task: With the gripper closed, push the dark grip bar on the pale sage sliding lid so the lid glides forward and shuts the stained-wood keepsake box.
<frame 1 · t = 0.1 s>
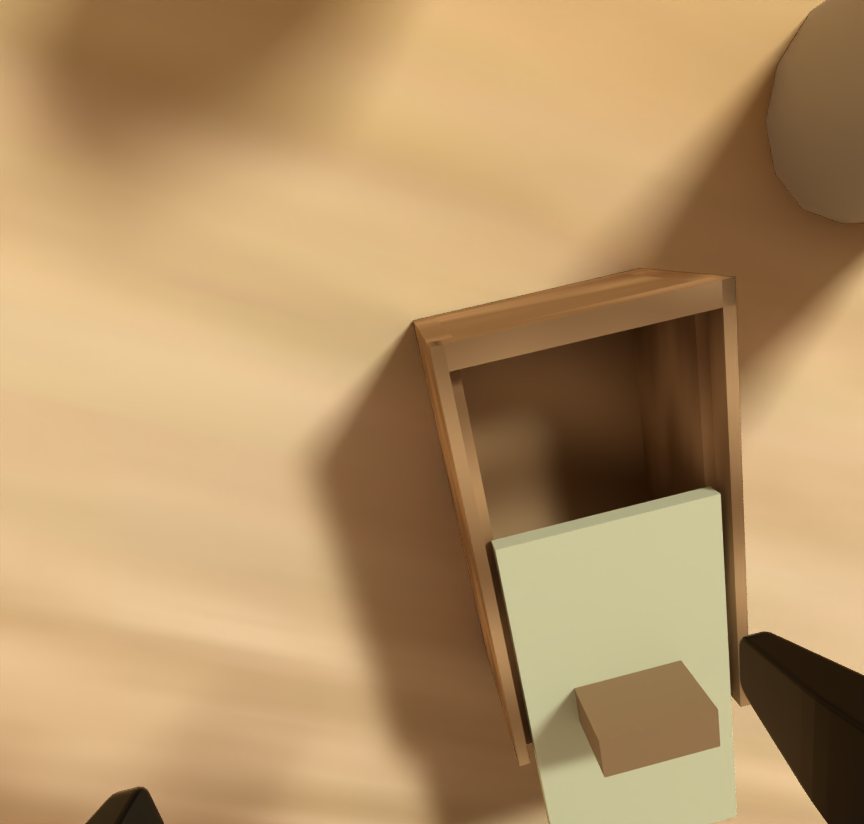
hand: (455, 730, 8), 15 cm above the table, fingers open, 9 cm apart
keepsake box: (555, 480, 23), on the table
lid: (641, 717, 19), point 6 cm above the table, slide at 6.0 cm
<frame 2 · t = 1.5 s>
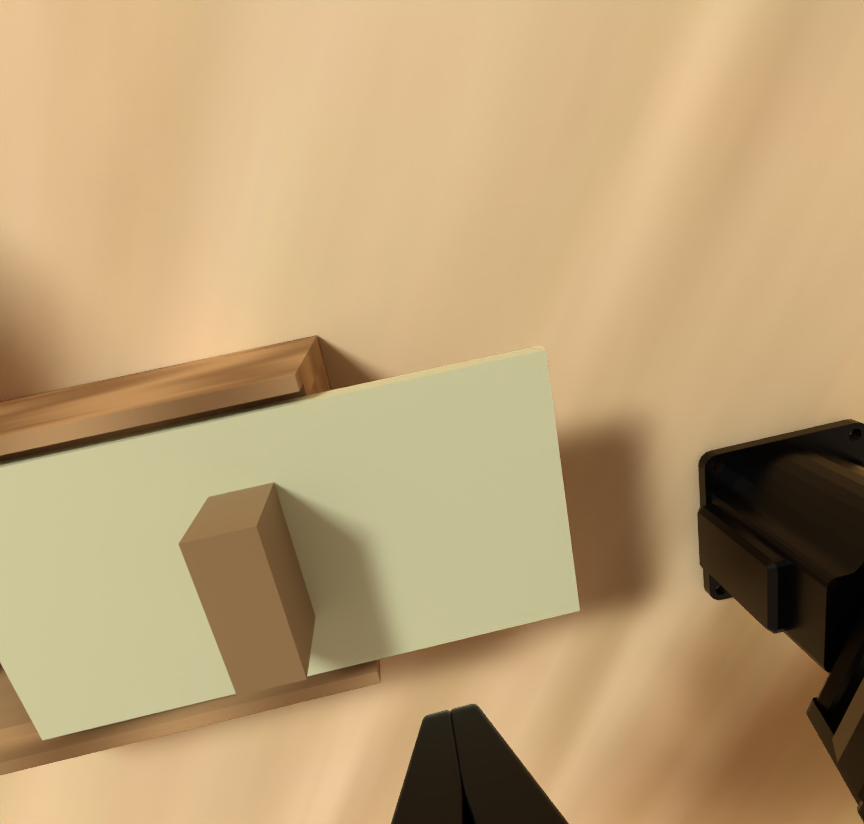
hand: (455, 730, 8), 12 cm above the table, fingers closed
keepsake box: (122, 509, 19), on the table
lid: (274, 574, 13), point 6 cm above the table, slide at 6.0 cm
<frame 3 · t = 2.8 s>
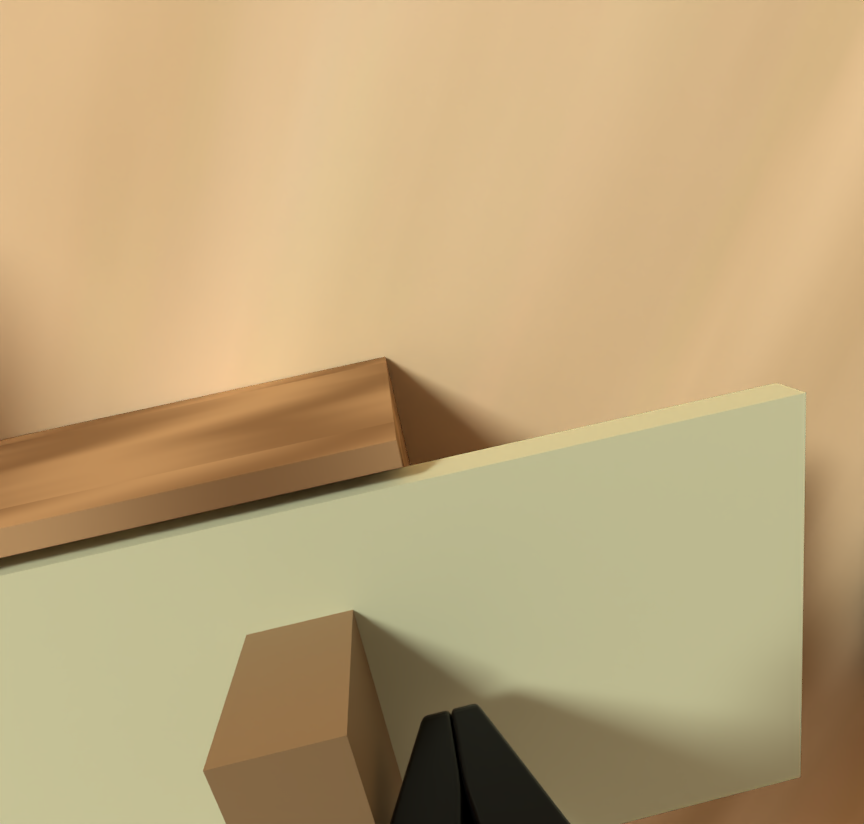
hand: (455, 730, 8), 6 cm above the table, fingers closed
keepsake box: (114, 595, 14), on the table
lid: (356, 763, 8), point 7 cm above the table, slide at 6.0 cm, touching gripper
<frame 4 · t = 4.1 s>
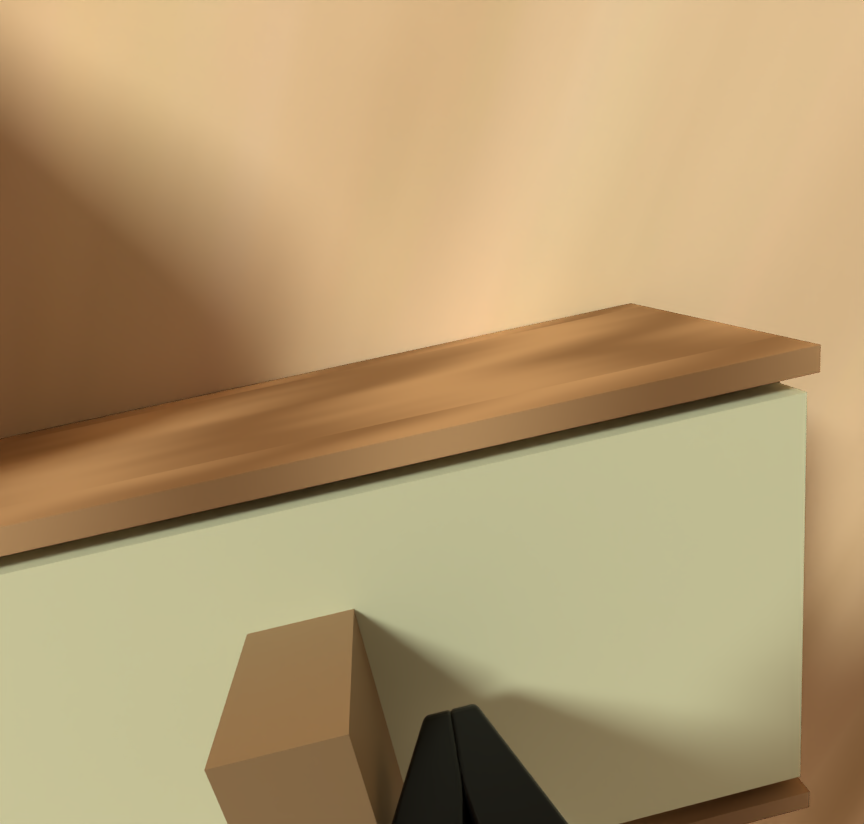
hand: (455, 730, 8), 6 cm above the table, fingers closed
keepsake box: (347, 540, 14), on the table
lid: (357, 763, 8), point 6 cm above the table, slide at 0.0 cm, touching gripper
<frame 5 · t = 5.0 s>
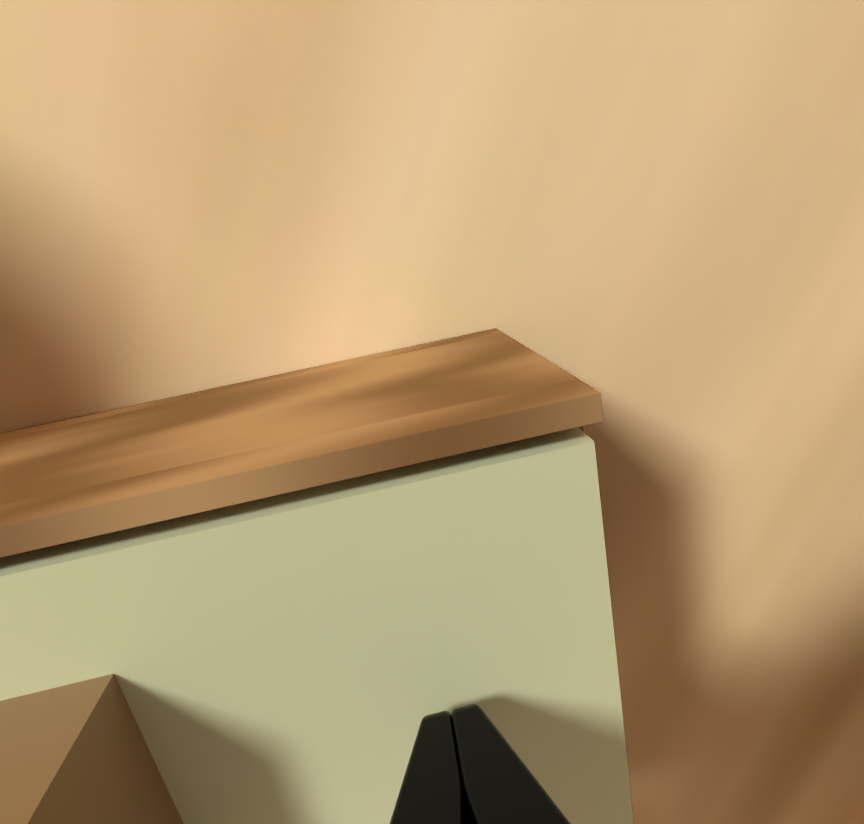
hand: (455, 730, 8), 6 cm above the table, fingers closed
keepsake box: (209, 573, 14), on the table
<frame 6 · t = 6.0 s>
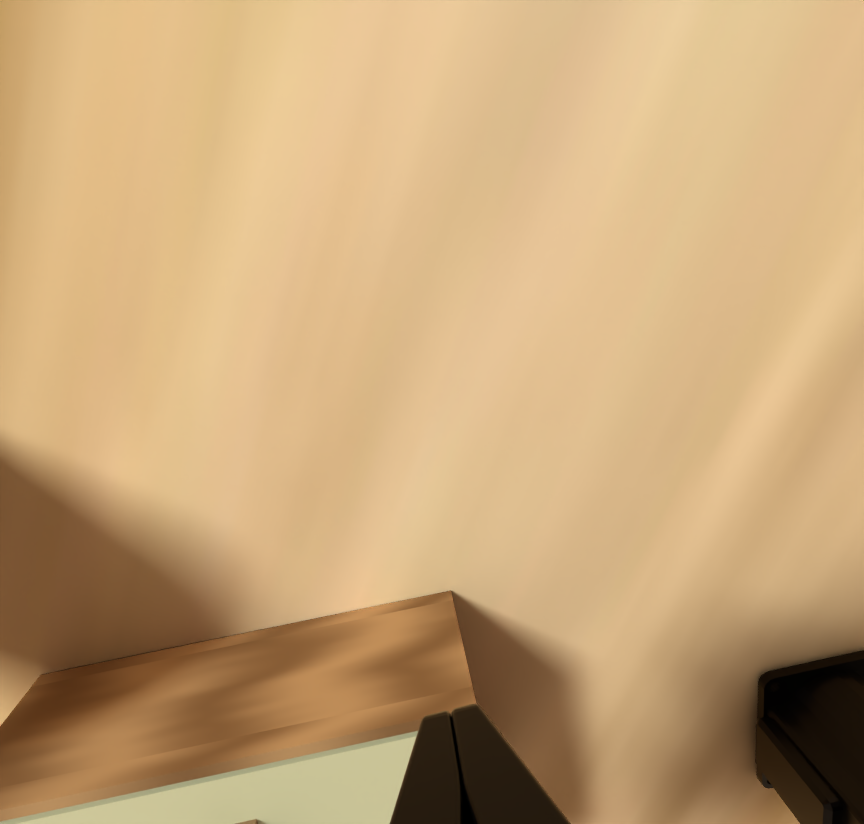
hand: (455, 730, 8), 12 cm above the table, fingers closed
keepsake box: (277, 721, 23), on the table
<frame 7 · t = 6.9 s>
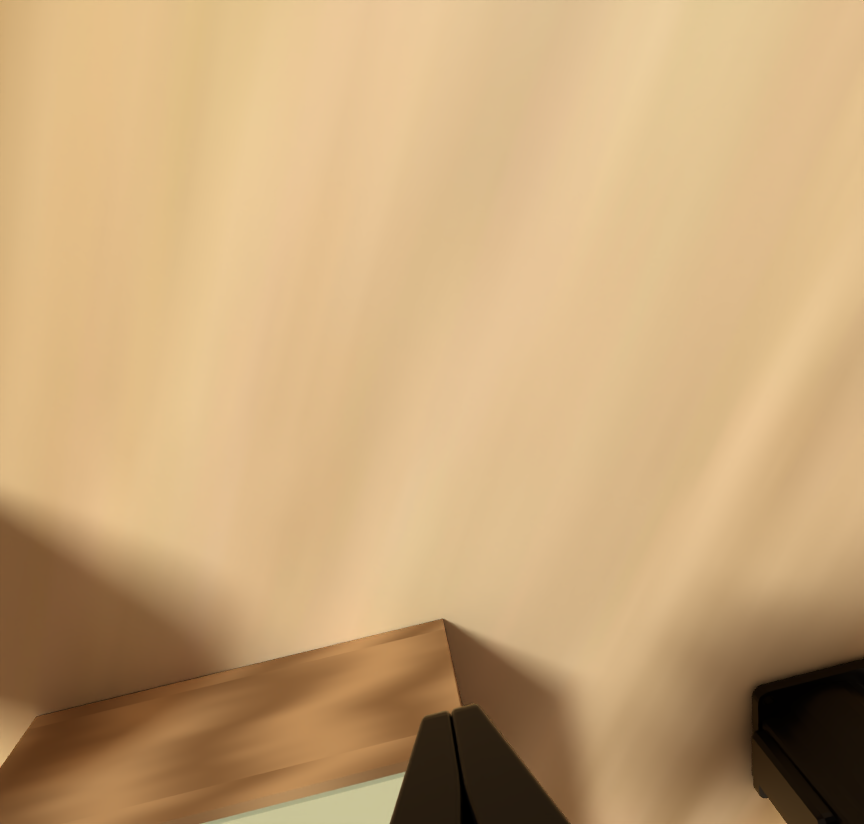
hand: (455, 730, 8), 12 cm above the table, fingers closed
keepsake box: (275, 752, 23), on the table
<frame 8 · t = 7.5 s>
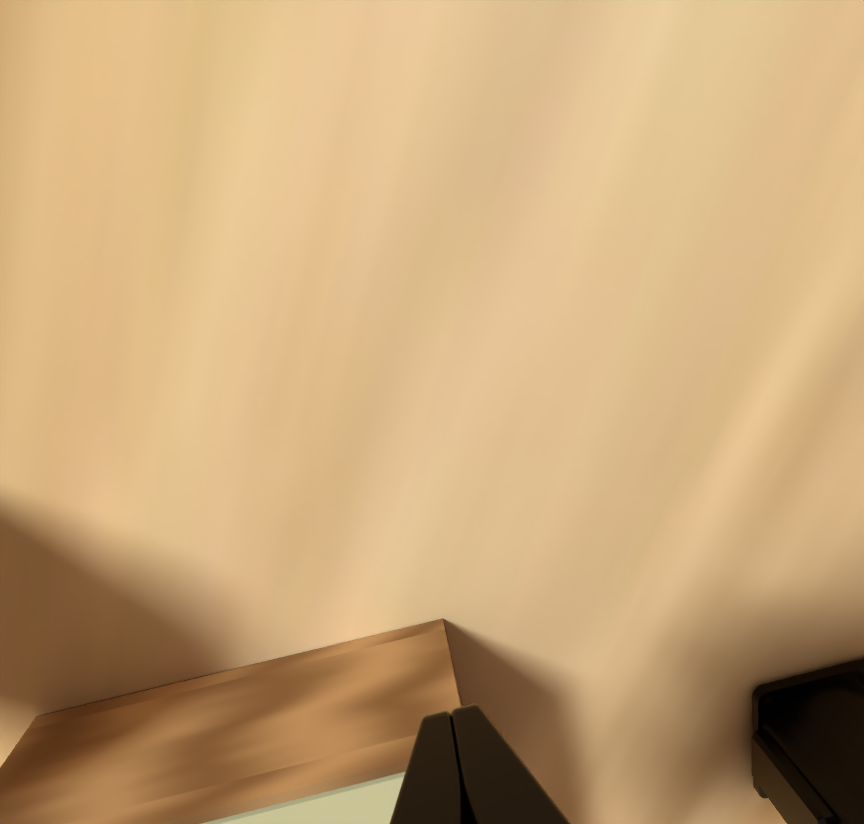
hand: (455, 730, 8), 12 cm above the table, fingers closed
keepsake box: (275, 752, 23), on the table
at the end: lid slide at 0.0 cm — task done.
